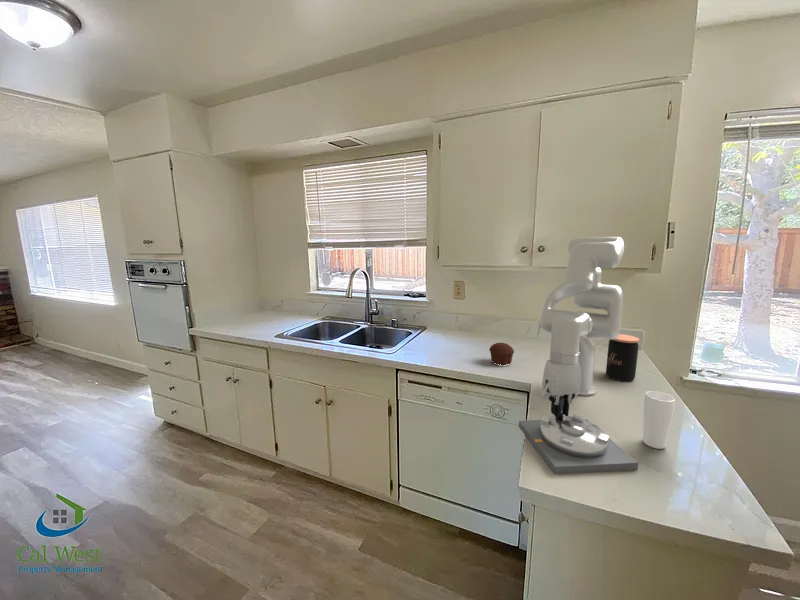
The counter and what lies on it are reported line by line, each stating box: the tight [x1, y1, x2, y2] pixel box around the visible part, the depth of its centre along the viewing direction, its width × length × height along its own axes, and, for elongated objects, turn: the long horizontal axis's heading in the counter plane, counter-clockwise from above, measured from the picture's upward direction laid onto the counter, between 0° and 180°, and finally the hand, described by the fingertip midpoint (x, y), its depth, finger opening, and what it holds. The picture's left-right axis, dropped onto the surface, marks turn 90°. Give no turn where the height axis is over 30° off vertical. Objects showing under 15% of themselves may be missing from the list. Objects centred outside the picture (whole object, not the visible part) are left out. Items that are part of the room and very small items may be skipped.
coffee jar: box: [605, 333, 640, 382], centre depth 141 cm, size 11×11×18 cm
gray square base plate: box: [518, 417, 639, 475], centre depth 95 cm, size 22×22×2 cm
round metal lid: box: [540, 395, 610, 457], centre depth 94 cm, size 17×17×10 cm
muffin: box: [488, 342, 515, 365], centre depth 160 cm, size 12×11×10 cm
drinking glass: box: [642, 390, 676, 450], centre depth 94 cm, size 7×7×15 cm
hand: (559, 414), depth 101 cm, fingers closed on round metal lid, 2 cm apart
